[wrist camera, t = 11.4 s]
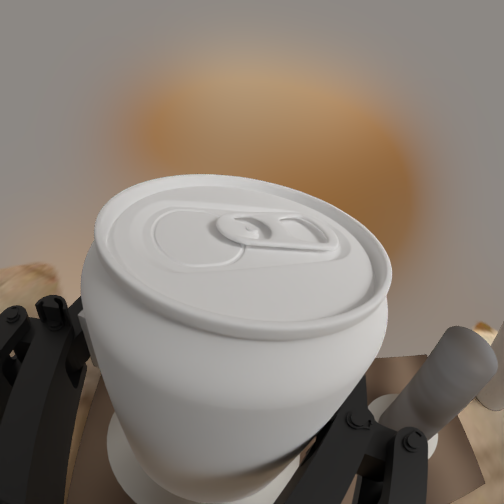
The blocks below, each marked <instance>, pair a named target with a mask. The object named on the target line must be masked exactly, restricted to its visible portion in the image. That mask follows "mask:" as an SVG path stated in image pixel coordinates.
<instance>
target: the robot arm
mask: <svg viewBox="0 0 504 504" xmlns="http://www.w3.org/2000/svg"><path fill="white" fill-rule="evenodd" d="M35 306H36V309H37V312H38V315H39V318H40V319H37V318H32V317H28V314H27V312H26V309H25V308H24V307H22V306H18V305H16V306H11V307H9V308H7V309H6V310H4V311H3V312H2V313H1V314H0V504H64V493H65V483H66V474H67V467H68V459H69V453H70V446H71V440H72V435H73V429H74V424H75V419H76V414H77V409H78V405H79V400H80V396H81V392H82V388H83V384H84V380H85V376H86V372H87V366H86V363H85V362H86V361H87V360H88V359H89V357H91V360H92V363H93V365H94V366H96V367H98V368H99V365H98V362H97V358H96V355H95V352H94V348H93V345H92V341H91V338H90V334H89V330H88V326H87V322H86V318H85V314H84V310H83V305H82V299H81V296H80V297H79V298H78V299H77V300H76V301H75V302H74V303H73V304H72V305H71V306H70V307H69V308H68V307H67V304H66V301H65V299H64V298H62V297H61V296H57V295H49V296H46V297H43V298H42V299H40V300H38V302H37V303H36V304H35ZM12 350H14V352H15V355H14V356H13V357H10V355H9V354H10V353H11V352H12ZM365 373H366V372H365ZM355 474H357V480H356V485H355V490H354V495H353V500H352V504H426V496H427V480H428V442H427V438H426V436H425V435H424V433H423V432H422V431H420V430H419V429H418V428H415V427H404V428H402V429H400V430H399V431H398V432H397V431H395V430H392V429H390V428H388V427H385V426H383V425H381V424H379V423H378V422H377V421H375V418H374V415H373V414H372V413H371V411H370V410H369V409H368V405H367V387H366V375H365V374H364V375H363V377H362V378H361V379H360V381H359V382H358V384H357V385H356V386H355V388H354V389H353V390H352V392H351V393H350V394H349V396H348V397H347V398H346V400H345V401H344V402H343V404H342V405H341V406H340V407H339V409H338V410H337V411H336V412H335V414H334V415H333V416H332V417H331V419H330V420H329V421H328V422H327V423H326V425H325V426H324V427H323V428H322V429H321V430H320V432H319V433H318V434H317V435H316V441H315V442H314V443H313V445H312V446H311V447H310V448H309V449H308V450H307V451H306V456H305V457H304V459H303V461H302V462H301V464H300V465H299V467H298V468H297V470H296V471H295V473H294V474H293V476H292V477H291V479H290V480H289V482H288V483H287V485H286V486H285V488H284V489H283V491H282V492H281V493H280V495H279V496H278V498H277V499H276V500H275V502H274V503H273V504H341V503H342V501H343V499H344V497H345V495H346V493H347V491H348V489H349V487H350V485H351V483H352V481H353V479H354V477H355Z"/></svg>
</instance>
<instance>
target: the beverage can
mask: <svg viewBox="0 0 504 504" xmlns="http://www.w3.org/2000/svg"><path fill="white" fill-rule="evenodd" d="M94 239H95V240H94V241H93V243H92V245H91V247H90V249H89V251H88V253H87V256H86V259H85V262H84V266H83V270H82V275H81V299H82V305H83V310H84V314H85V318H86V322H87V326H88V330H89V334H90V338H91V341H92V345H93V348H94V352H95V355H96V358H97V362H98V365H99V368H100V371H101V374H102V377H103V380H104V383H105V386H106V389H107V391H108V394H109V397H110V400H111V402H112V405H113V407H114V410H115V412H116V415H117V417H118V420H119V422H120V425H121V427H122V429H123V431H124V434H125V436H126V438H127V440H128V443H129V445H130V447H131V449H132V451H133V453H134V455H135V457H136V459H137V461H138V463H139V464H140V466H141V467H142V469H143V470H144V471H145V472H146V474H147V475H148V476H149V477H150V478H151V479H152V480H153V481H154V482H156V483H157V484H158V485H159V486H161V487H162V488H164V489H165V490H167V491H169V492H171V493H173V494H175V495H177V496H179V497H182V498H184V499H188V500H191V501H195V502H201V503H212V504H218V503H229V502H234V501H238V500H242V499H245V498H247V497H250V496H252V495H254V494H256V493H258V492H259V491H261V490H262V489H264V488H265V487H266V486H268V485H269V484H270V483H271V482H272V481H273V480H274V479H275V478H276V477H277V476H278V475H279V474H280V473H281V472H282V471H283V470H284V469H285V468H286V467H287V466H288V465H289V464H290V463H291V462H292V461H293V460H294V459H295V458H296V457H297V456H298V455H299V454H300V453H301V452H302V451H303V450H304V449H305V447H306V446H307V445H308V444H309V443H310V442H311V441H312V440H313V439H314V437H315V436H316V435H317V434H318V433H319V432H320V430H321V429H322V428H323V427H324V426H325V425H326V423H327V422H328V421H329V420H330V419H331V417H332V416H333V415H334V414H335V412H336V411H337V410H338V409H339V407H340V406H341V405H342V404H343V402H344V401H345V400H346V398H347V397H348V396H349V394H350V393H351V392H352V390H353V389H354V388H355V386H356V385H357V384H358V382H359V381H360V379H361V378H362V377H363V375H364V374H365V372H366V371H367V369H368V368H369V367H370V365H371V364H372V362H373V361H374V359H375V357H376V356H377V354H378V352H379V350H380V347H381V345H382V343H383V339H384V336H385V333H386V328H387V321H388V306H387V298H386V295H387V293H388V290H389V288H390V285H391V280H392V267H391V263H390V260H389V257H388V255H387V253H386V251H385V249H384V248H383V246H382V245H381V243H380V242H379V241H378V239H377V238H376V237H375V236H374V235H373V234H372V233H371V232H370V231H369V230H368V229H367V228H366V227H365V226H363V225H362V224H361V223H360V222H358V221H357V220H356V219H354V218H353V217H351V216H350V215H348V214H347V213H345V212H343V211H342V210H340V209H338V208H336V207H335V206H333V205H331V204H329V203H327V202H325V201H323V200H320V199H318V198H316V197H313V196H311V195H308V194H306V193H303V192H300V191H297V190H294V189H291V188H288V187H285V186H281V185H277V184H273V183H270V182H265V181H260V180H256V179H250V178H244V177H236V176H227V175H212V174H209V175H208V174H193V175H177V176H169V177H163V178H158V179H153V180H149V181H145V182H143V183H139V184H136V185H134V186H132V187H129V188H127V189H125V190H123V191H121V192H120V193H119V194H117V195H115V196H114V197H113V198H111V199H110V200H109V201H108V202H107V203H106V204H105V205H104V206H103V208H102V209H101V211H100V212H99V214H98V216H97V219H96V222H95V229H94Z"/></svg>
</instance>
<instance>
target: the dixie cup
mask: <svg viewBox="0 0 504 504" xmlns="http://www.w3.org/2000/svg"><path fill="white" fill-rule="evenodd" d="M491 348H492V349H493V351H494V353H495V355H496V358H497V362H498V369H497V372H496V374H495V375H494V376H493V377H492V379H491V380H490V381H489V382H488V383H487V384H486V385H485V387H484V388H483V389H482V390H481V391H480V392H479V393H478V394H477V395H476V397H477V399H478V400H479V401H480V402H481V403H482V404H483V405H484V406H485V407H486V408H488V409H490V410H493V411H500V410H502V409H504V322H503V324H502V326H501V328H500V330H499V332H498V334H497V336H496V337H495V339H494V341H493V343H492V345H491Z"/></svg>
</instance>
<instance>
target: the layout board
mask: <svg viewBox="0 0 504 504" xmlns="http://www.w3.org/2000/svg"><path fill="white" fill-rule="evenodd" d="M497 369H498V362H497V358H496V355H495V353H494V351H493V349H492V348H491V346H490V345H489V344H488V343H487V341H486V340H485V339H483V338H482V337H481V336H480V335H479V334H477V333H476V332H474V331H472V330H470V329H468V328H465V327H460V326H454V327H450V328H448V329H447V330H446V332H445V333H444V335H443V336H442V338H441V339H440V341H439V342H438V344H437V345H436V346H435V348H434V350H433V351H432V352H431V354H430V355H429V356H428V357H427V355H417V356H405V357H390V358H375V359H374V361H373V362H372V364H371V365H370V367H369V368H368V369H367V371H366V373H365V375H366V387H367V405H368V409H369V410H370V411H371V413H372V414H373V415H374V418H375V421H377V422H378V423H379V424H381V425H383V426H385V427H388V428H390V429H392V430H395V431H397V432H398V431H399V430H400V429H402V428H404V427H415V428H418V429H419V430H420V431H422V432H423V433H424V435H425V436H426V438H427V442H428V480H427V496H426V504H450V503H452V502H454V501H456V500H458V499H459V498H461V497H463V496H465V495H467V494H468V493H470V492H472V491H473V490H475V489H477V488H478V487H480V486H482V485H483V484H485V481H484V478H483V475H482V473H481V470H480V467H479V465H478V462H477V460H476V457H475V455H474V452H473V450H472V447H471V445H470V442H469V440H468V438H467V435H466V433H465V431H464V429H463V426H462V424H461V422H460V420H459V418H458V416H457V415H458V414H459V413H460V412H461V411H462V410H463V409H464V408H465V407H466V406H467V405H468V404H469V403H470V402H471V401H472V400H473V398H474V397H475V396H476V395H477V394H478V393H479V392H480V391H481V390H482V389H483V388H484V387H485V385H486V384H487V383H488V382H489V381H490V380H491V379H492V377H493V376H494V375H495V374H496V372H497ZM315 441H316V436H315V437H314V439H313V440H312V441H311V442H310V443H309V444H308V445H307V446H306V447H305V449H304V450H303V451H302V452H301V453H300V454H299V455H298V456H297V457H296V458H295V459H294V460H293V461H292V462H291V463H290V464H289V465H288V466H287V467H286V468H285V469H284V470H283V471H282V472H281V473H280V474H279V475H278V476H277V477H276V478H275V479H274V480H273V481H272V482H271V483H270V484H269V485H268V486H266V487H265V488H264V489H262V490H261V491H259V492H258V493H256V494H254V495H252V496H250V497H247V498H245V499H242V500H238V501H234V502H229V503H218V504H273V503H274V502H275V500H276V499H277V498H278V496H279V495H280V493H281V492H282V491H283V489H284V488H285V486H286V485H287V483H288V482H289V480H290V479H291V477H292V476H293V474H294V473H295V471H296V470H297V468H298V467H299V465H300V464H301V462H302V461H303V459H304V457H305V456H306V451H307V450H308V449H309V448H310V447H311V446H312V445H313V443H314V442H315ZM356 480H357V474H355V477H354V479H353V481H352V483H351V485H350V487H349V489H348V491H347V493H346V495H345V497H344V499H343V501H342V503H341V504H352V500H353V495H354V490H355V485H356ZM67 504H212V503H201V502H195V501H191V500H188V499H184V498H182V497H179V496H177V495H175V494H173V493H171V492H169V491H167V490H165V489H164V488H162V487H161V486H159V485H158V484H157V483H156V482H154V481H153V480H152V479H151V478H150V477H149V476H148V475H147V474H146V472H145V471H144V470H143V469H142V467H141V466H140V464H139V463H138V461H137V459H136V457H135V455H134V453H133V451H132V449H131V447H130V445H129V443H128V440H127V438H126V436H125V434H124V431H123V429H122V427H121V425H120V422H119V420H118V417H117V415H116V412H115V410H114V407H113V405H112V402H111V400H110V397H109V394H108V391H107V389H106V386H105V383H104V380H103V377H102V374H101V377H100V380H99V383H98V386H97V389H96V392H95V395H94V398H93V401H92V404H91V408H90V411H89V414H88V417H87V421H86V424H85V428H84V431H83V435H82V439H81V442H80V446H79V450H78V454H77V458H76V462H75V466H74V471H73V475H72V480H71V484H70V489H69V494H68V499H67Z"/></svg>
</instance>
